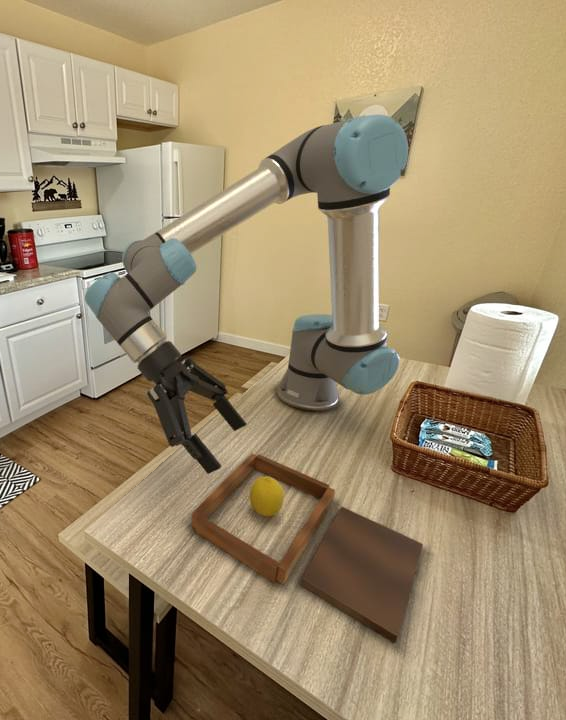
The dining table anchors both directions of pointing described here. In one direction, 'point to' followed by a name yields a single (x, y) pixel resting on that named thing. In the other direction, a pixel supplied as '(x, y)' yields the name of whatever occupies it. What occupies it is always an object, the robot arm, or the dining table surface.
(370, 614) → the cutting board
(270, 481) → the lemon
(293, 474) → the wooden frame
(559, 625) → the dining table surface
